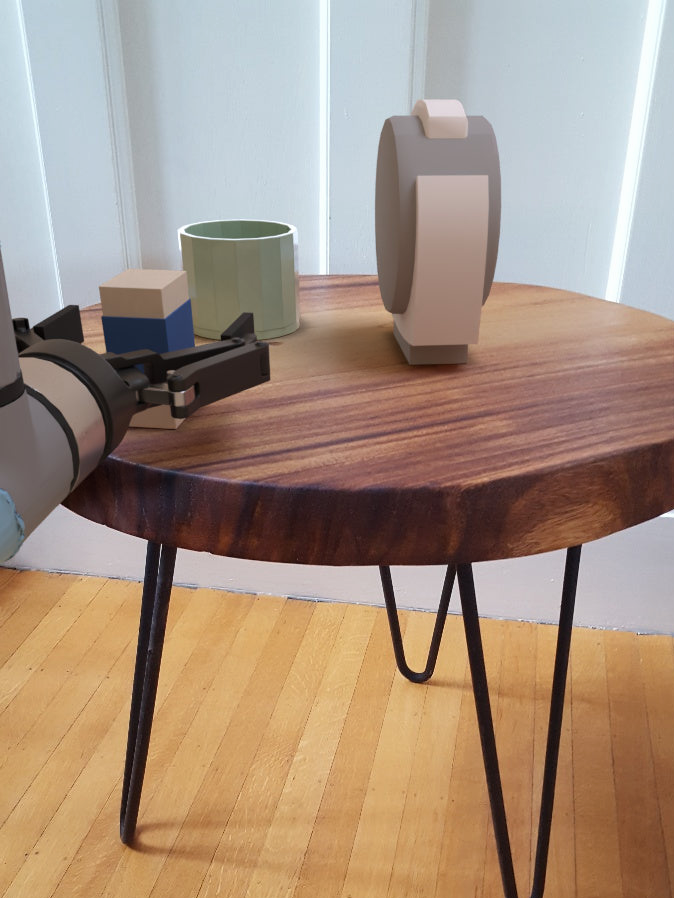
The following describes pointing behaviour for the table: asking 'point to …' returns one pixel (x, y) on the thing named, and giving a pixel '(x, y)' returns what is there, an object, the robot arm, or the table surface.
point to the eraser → (148, 323)
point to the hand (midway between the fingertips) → (162, 326)
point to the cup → (242, 275)
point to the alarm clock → (437, 227)
